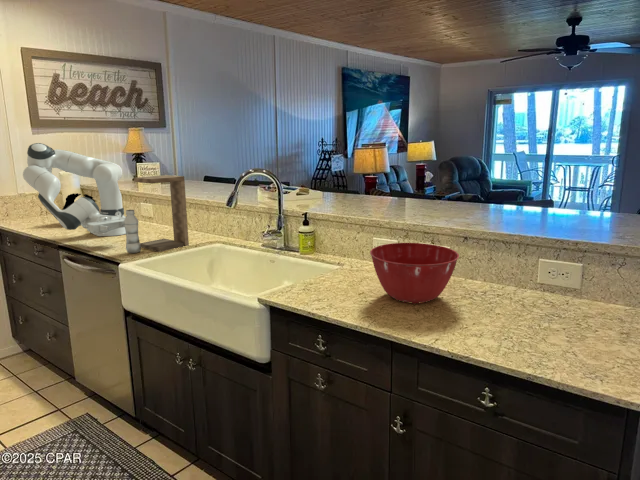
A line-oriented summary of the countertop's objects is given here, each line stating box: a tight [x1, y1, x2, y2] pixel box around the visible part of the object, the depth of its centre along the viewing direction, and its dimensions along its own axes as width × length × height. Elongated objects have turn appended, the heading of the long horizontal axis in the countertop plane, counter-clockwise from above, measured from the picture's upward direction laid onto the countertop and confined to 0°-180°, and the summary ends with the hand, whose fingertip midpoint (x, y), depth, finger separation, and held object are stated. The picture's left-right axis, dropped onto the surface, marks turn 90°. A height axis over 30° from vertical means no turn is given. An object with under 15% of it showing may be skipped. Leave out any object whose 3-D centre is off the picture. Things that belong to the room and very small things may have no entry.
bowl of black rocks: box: [62, 192, 96, 210], centre depth 303 cm, size 20×20×19 cm
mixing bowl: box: [369, 242, 460, 304], centre depth 161 cm, size 28×28×16 cm
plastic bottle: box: [124, 209, 142, 254], centre depth 225 cm, size 6×7×20 cm
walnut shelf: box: [133, 174, 190, 253], centre depth 235 cm, size 16×18×34 cm
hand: (117, 226), depth 232 cm, fingers open, 8 cm apart
